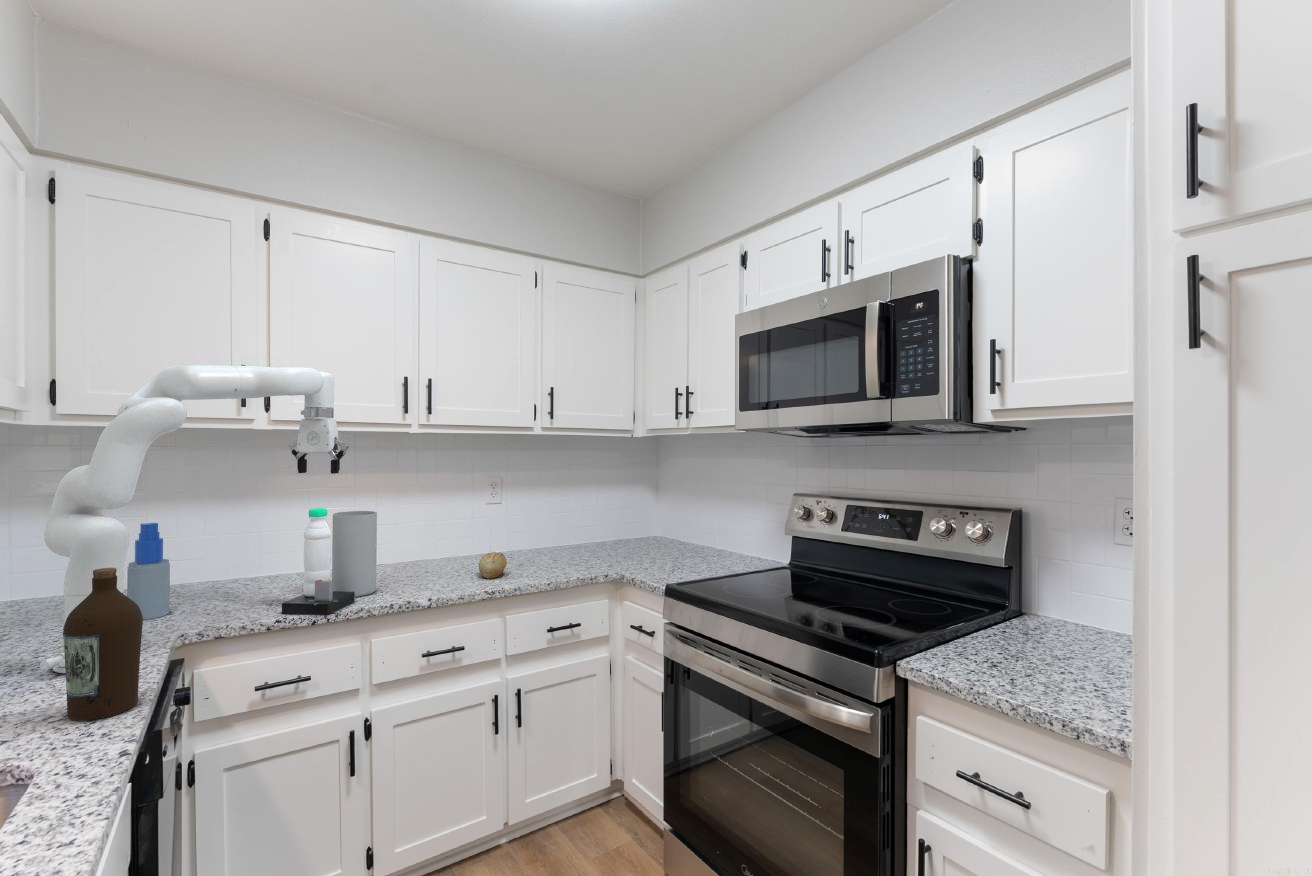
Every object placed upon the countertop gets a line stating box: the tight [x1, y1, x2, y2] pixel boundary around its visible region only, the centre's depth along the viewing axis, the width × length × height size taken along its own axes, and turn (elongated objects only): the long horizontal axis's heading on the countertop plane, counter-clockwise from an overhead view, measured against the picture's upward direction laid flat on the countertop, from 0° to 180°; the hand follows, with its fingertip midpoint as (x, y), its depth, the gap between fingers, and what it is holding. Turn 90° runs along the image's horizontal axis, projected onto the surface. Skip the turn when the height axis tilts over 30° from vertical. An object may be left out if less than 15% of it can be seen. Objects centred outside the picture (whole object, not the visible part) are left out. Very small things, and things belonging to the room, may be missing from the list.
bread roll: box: [478, 551, 508, 580], centre depth 223 cm, size 10×15×8 cm, turn 10°
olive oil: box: [62, 568, 144, 722], centre depth 111 cm, size 11×11×25 cm
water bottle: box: [302, 507, 332, 597], centre depth 181 cm, size 7×7×25 cm
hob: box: [281, 591, 356, 616], centre depth 178 cm, size 15×14×3 cm
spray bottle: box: [126, 522, 171, 621], centre depth 169 cm, size 9×9×25 cm
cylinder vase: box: [331, 510, 378, 598], centre depth 195 cm, size 12×12×25 cm
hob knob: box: [315, 580, 333, 602], centre depth 174 cm, size 4×2×6 cm, turn 86°
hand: (318, 473), depth 182 cm, fingers open, 9 cm apart
